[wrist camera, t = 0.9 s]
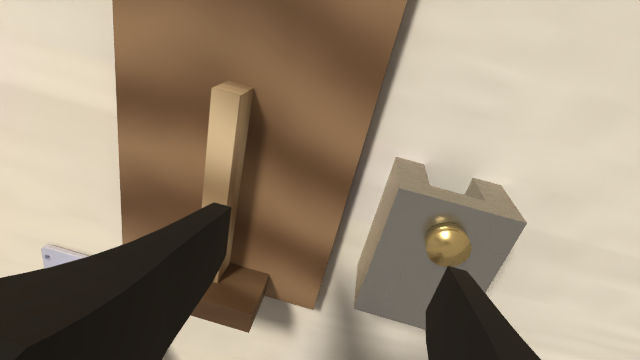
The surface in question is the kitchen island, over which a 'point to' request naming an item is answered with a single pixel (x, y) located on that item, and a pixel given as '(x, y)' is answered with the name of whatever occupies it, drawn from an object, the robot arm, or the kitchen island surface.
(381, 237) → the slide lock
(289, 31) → the board
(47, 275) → the robot arm
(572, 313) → the kitchen island surface
